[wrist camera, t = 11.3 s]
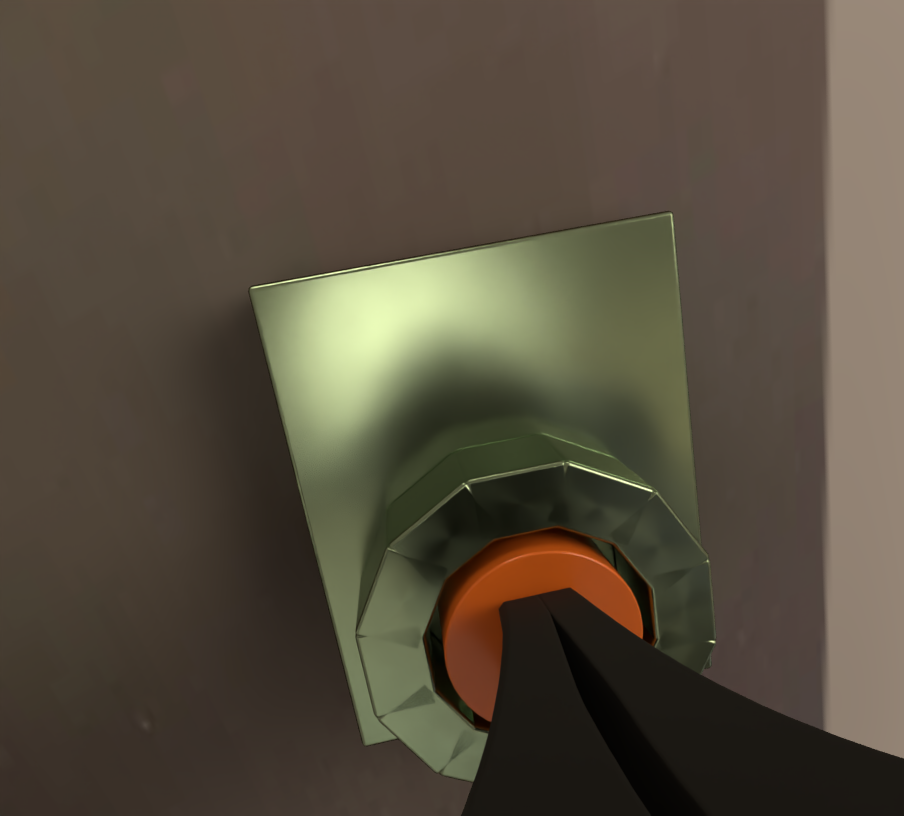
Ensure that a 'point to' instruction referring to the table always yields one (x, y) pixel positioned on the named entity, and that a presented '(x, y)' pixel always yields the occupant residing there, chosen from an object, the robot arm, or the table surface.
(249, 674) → the table surface
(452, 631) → the button
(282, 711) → the table surface
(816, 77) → the table surface
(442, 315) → the control block
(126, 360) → the table surface
